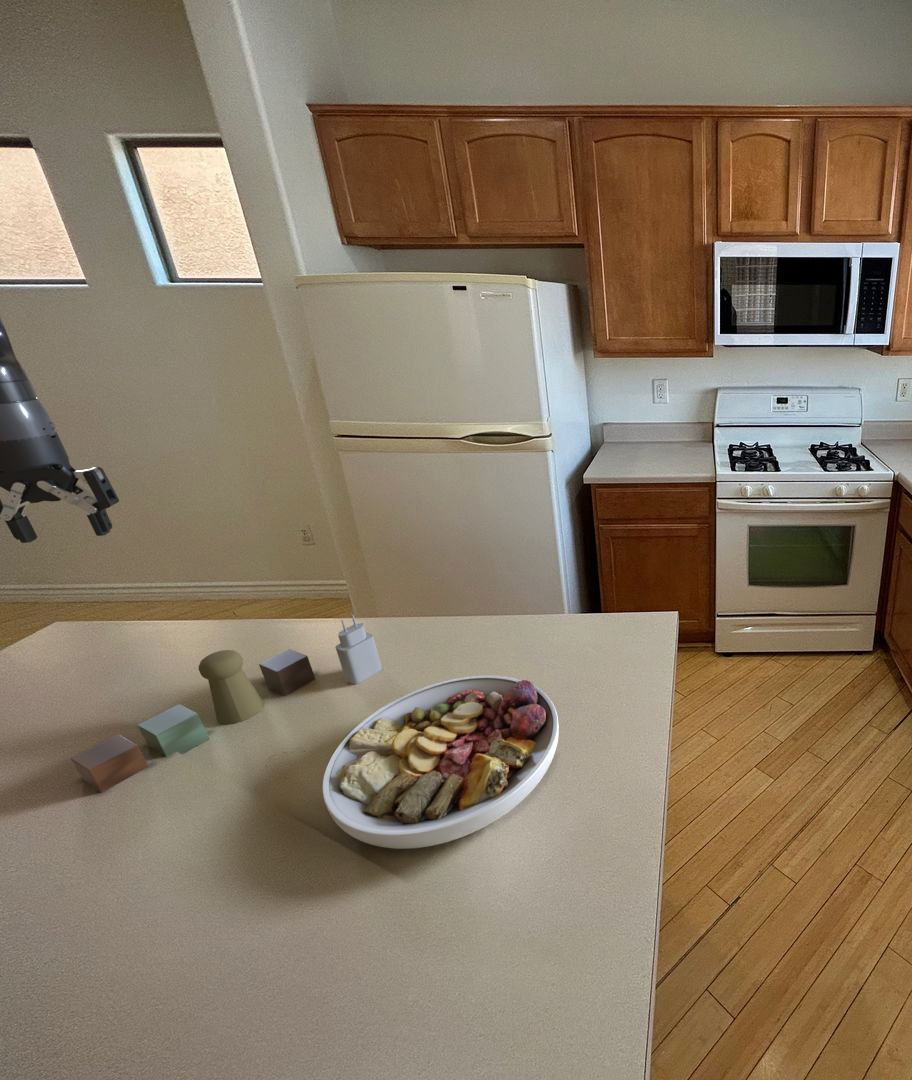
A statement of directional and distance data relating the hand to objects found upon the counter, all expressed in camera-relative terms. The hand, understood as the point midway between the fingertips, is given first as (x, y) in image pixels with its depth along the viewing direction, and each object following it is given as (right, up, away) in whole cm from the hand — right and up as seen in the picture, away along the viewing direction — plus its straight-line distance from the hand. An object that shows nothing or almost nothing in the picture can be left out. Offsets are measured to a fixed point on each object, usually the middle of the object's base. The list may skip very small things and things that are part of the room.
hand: (67, 537), depth 85 cm
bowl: (+62, -34, -4) cm, 71 cm away
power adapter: (+36, -25, +15) cm, 46 cm away
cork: (+22, -29, +6) cm, 36 cm away
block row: (+20, -30, +2) cm, 36 cm away
